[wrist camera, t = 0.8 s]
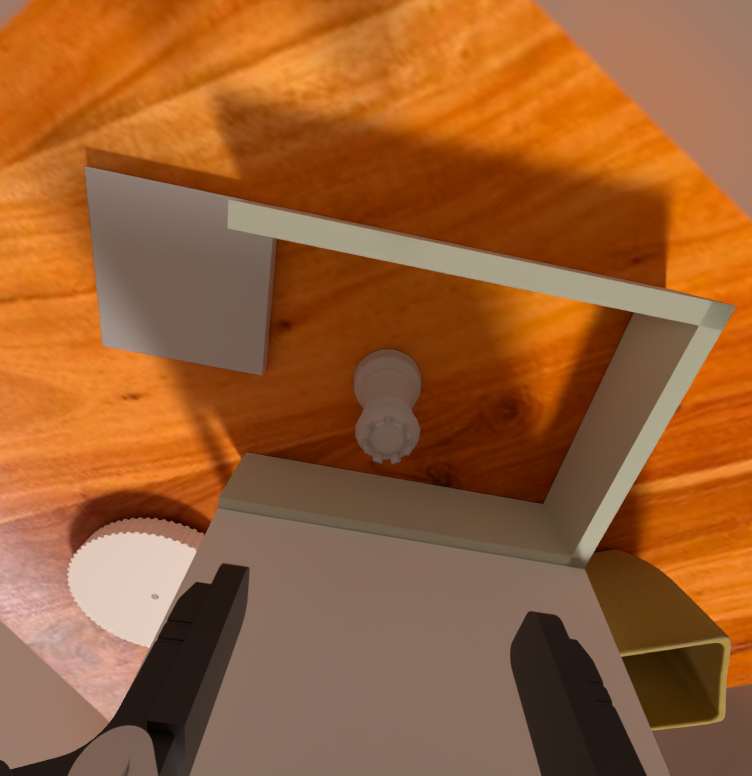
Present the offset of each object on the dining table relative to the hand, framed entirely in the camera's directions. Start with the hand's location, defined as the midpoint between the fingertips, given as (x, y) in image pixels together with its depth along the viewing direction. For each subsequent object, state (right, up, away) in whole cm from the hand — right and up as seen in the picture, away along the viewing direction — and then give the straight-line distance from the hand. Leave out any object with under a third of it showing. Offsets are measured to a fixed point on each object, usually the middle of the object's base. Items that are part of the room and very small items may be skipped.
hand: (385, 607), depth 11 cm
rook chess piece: (0, +7, +15) cm, 16 cm away
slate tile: (-12, +13, +12) cm, 21 cm away
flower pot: (+17, -9, +22) cm, 29 cm away
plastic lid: (-18, -10, +23) cm, 31 cm away
